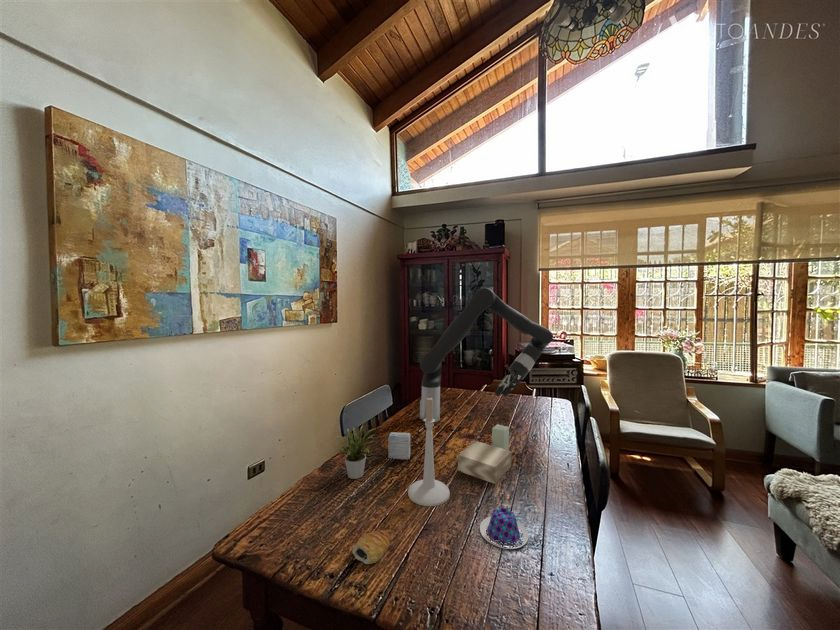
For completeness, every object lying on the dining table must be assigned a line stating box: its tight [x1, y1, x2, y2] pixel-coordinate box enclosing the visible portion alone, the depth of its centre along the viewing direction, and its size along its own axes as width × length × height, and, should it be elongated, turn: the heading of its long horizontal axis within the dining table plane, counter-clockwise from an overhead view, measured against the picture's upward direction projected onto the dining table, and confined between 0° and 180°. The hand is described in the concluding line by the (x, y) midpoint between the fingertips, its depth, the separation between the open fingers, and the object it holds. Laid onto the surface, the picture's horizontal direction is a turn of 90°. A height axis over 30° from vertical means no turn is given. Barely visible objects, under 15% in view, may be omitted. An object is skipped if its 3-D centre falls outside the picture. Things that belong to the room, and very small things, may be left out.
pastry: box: [351, 529, 392, 565], centre depth 76 cm, size 9×7×4 cm
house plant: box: [334, 424, 377, 480], centre depth 109 cm, size 14×14×16 cm
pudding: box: [479, 507, 529, 550], centre depth 82 cm, size 12×12×5 cm
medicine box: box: [387, 431, 411, 460], centre depth 122 cm, size 8×4×9 cm, turn 84°
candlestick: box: [407, 397, 451, 507], centre depth 98 cm, size 13×13×30 cm
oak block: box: [457, 440, 512, 485], centre depth 114 cm, size 14×14×6 cm
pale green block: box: [491, 423, 510, 451], centre depth 126 cm, size 5×5×10 cm
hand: (499, 395), depth 135 cm, fingers open, 8 cm apart
